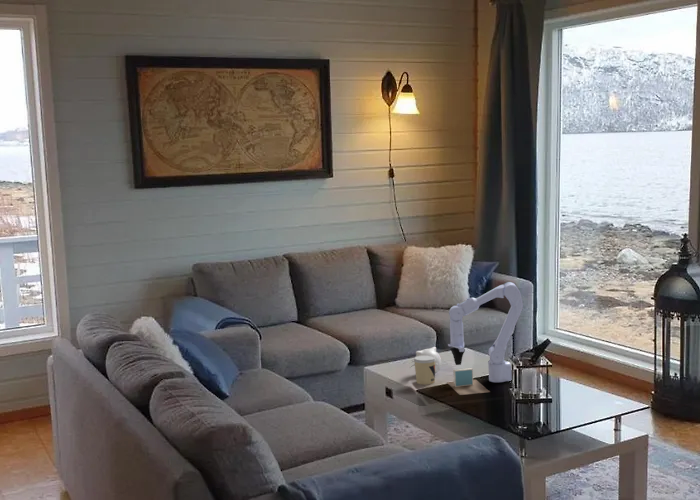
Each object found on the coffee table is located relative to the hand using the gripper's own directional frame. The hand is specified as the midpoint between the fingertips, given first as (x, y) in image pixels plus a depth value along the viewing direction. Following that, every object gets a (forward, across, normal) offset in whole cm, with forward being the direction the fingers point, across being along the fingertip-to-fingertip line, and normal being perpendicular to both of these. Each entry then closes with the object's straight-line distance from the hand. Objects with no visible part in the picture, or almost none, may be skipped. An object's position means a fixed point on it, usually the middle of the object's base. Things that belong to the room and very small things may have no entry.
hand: (458, 364), depth 344 cm
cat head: (+9, -18, -9) cm, 22 cm away
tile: (+7, +7, 0) cm, 10 cm away
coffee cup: (+9, -4, -14) cm, 17 cm away
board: (+9, +10, +1) cm, 13 cm away
